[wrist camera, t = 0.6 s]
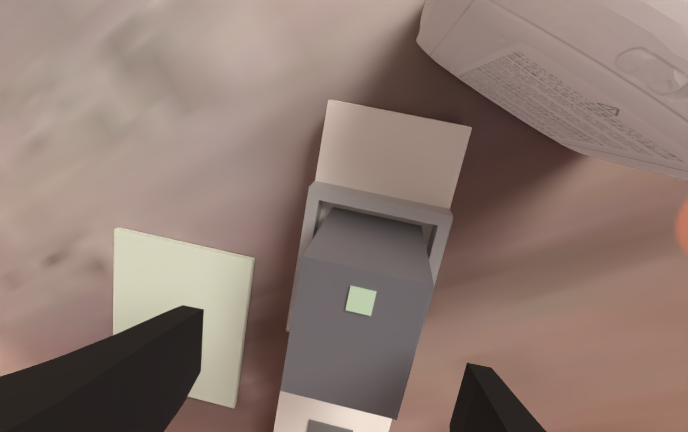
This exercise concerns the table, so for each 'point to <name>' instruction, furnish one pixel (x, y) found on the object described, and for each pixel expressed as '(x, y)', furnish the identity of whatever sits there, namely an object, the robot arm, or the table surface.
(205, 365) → the sage mat
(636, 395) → the table surface
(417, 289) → the charger
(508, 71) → the photo printer
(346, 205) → the white block grey frame
